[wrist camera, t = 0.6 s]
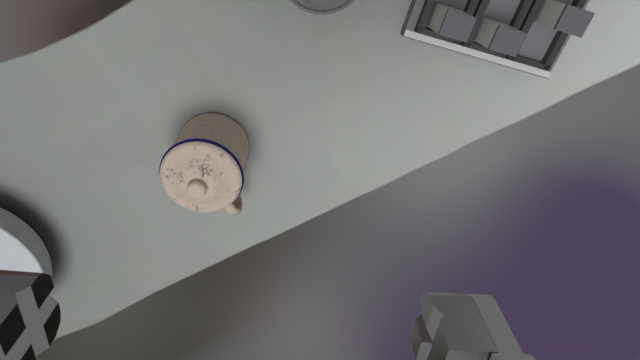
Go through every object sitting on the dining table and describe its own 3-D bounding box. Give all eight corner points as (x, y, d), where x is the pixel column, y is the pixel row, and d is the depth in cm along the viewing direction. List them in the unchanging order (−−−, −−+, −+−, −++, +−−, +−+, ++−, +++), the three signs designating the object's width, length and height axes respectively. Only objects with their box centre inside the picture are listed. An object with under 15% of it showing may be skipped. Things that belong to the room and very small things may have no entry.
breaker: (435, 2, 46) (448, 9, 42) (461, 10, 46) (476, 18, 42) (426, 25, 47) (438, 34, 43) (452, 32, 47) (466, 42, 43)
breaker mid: (482, 17, 47) (500, 25, 42) (507, 24, 47) (527, 33, 43) (472, 39, 48) (488, 49, 44) (497, 46, 48) (515, 57, 44)
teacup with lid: (164, 127, 54) (132, 172, 43) (229, 98, 52) (211, 138, 42) (214, 201, 59) (195, 257, 49) (274, 177, 58) (267, 229, 47)
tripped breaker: (544, -3, 46) (568, 4, 42) (568, 5, 46) (594, 13, 42) (532, 20, 47) (555, 29, 43) (557, 28, 47) (581, 37, 43)
